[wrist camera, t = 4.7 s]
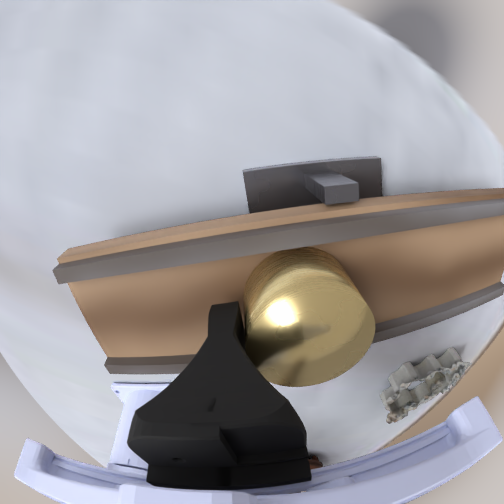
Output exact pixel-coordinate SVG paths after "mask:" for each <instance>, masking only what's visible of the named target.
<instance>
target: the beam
mask: <svg viewBox="0 0 504 504" xmlns="http://www.w3.org/2000/svg"><path fill="white" fill-rule="evenodd" d="M300 247H314V248H318V249H321V250H323V251H325V252H327V253H329V254H331V255H332V256H333V257H335V258H336V259H337V260H338V262H339V263H340V264H341V266H342V267H343V269H344V270H345V272H346V273H347V274H348V276H349V277H350V279H351V280H352V282H353V283H354V285H355V286H356V288H357V289H358V291H359V293H360V294H361V296H362V297H363V299H364V300H365V302H366V303H367V305H368V306H369V308H370V310H371V311H372V313H373V316H374V319H375V335H374V338H373V341H372V343H376V342H379V341H383V340H386V339H390V338H393V337H396V336H400V335H403V334H406V333H409V332H412V331H415V330H418V329H421V328H424V327H427V326H430V325H432V324H435V323H438V322H441V321H443V320H446V319H449V318H451V317H454V316H456V315H459V314H461V313H464V312H466V311H468V310H471V309H473V308H475V307H478V306H480V305H482V304H484V303H487V302H489V301H491V300H493V299H495V298H497V297H499V296H501V295H503V292H504V284H503V283H502V282H500V281H501V277H502V274H503V271H504V188H492V189H472V190H455V191H441V192H428V193H416V194H404V195H394V196H383V197H374V198H364V199H359V201H353V202H345V203H337V204H329V205H325V204H324V203H322V204H314V205H307V206H299V207H292V208H285V209H278V210H271V211H264V212H258V213H251V214H245V215H238V216H232V217H226V218H220V219H214V220H208V221H203V222H197V223H191V224H186V225H180V226H175V227H169V228H164V229H159V230H154V231H149V232H144V233H139V234H134V235H129V236H124V237H119V238H114V239H110V240H105V241H101V242H96V243H91V244H87V245H83V246H78V247H74V248H70V249H67V250H66V251H65V252H64V253H63V254H62V255H61V256H60V257H58V258H57V260H58V262H59V265H58V266H56V267H55V268H54V269H53V273H54V275H55V277H56V279H57V282H58V284H63V283H68V285H69V287H70V289H71V292H72V294H73V296H74V298H75V300H76V302H77V304H78V306H79V308H80V310H81V312H82V314H83V316H84V317H85V319H86V321H87V323H88V325H89V327H90V328H91V330H92V332H93V334H94V336H95V337H96V339H97V341H98V342H99V344H100V346H101V347H102V349H103V351H104V352H105V354H106V355H107V357H108V358H107V360H106V362H105V364H104V366H105V367H106V369H107V370H108V371H109V373H110V374H178V373H181V372H182V371H183V370H184V369H185V368H186V366H187V365H188V364H189V363H190V362H191V360H192V359H193V358H194V356H195V355H196V354H197V352H198V351H199V349H200V348H201V346H202V344H203V343H204V341H205V340H206V338H207V336H208V314H209V311H210V308H211V305H215V304H222V303H228V302H235V301H238V302H239V306H240V311H241V315H242V320H243V324H244V299H243V295H244V288H245V284H246V281H247V279H248V277H249V275H250V274H251V272H252V271H253V269H254V268H255V267H256V266H257V265H258V264H259V263H260V262H261V261H262V260H264V259H265V258H266V257H268V256H270V255H271V254H273V253H275V252H278V251H281V250H287V249H294V248H300ZM244 329H245V325H244ZM372 343H371V344H372Z"/></svg>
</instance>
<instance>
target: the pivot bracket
mask: <svg viewBox="0 0 504 504" xmlns="http://www.w3.org/2000/svg"><path fill="white" fill-rule="evenodd" d="M243 176H244V182H245V188H246V195H247V201H248V207H249V213H250V214H251V213H258V212H264V211H271V210H278V209H285V208H292V207H299V206H307V205H314V204H322V203H324V204H325V205H329V204H337V203H345V202H353V201H359V199H364V198H374V197H382V179H381V158H378V157H356V158H341V159H329V160H318V161H308V162H298V163H290V164H282V165H274V166H266V167H259V168H253V169H246V170H243Z"/></svg>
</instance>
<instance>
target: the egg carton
mask: <svg viewBox="0 0 504 504" xmlns="http://www.w3.org/2000/svg"><path fill="white" fill-rule="evenodd" d="M471 364H472V363H469V362H463V361H462V360H461V357H460V356H459V355H458V353H457V352H456V350H455V349H454V348H453V347H451V348H449V349H447V351H446V352H445V353H444V354H443V355H442V356H441V357H439V358H437V359H436V358H435V356H434V355H433V354H432V355H429V356H427V357H426V358H425V359H424V360H423V361H422V362H421V363H420V364H418V365H416V366H412V364H411V362H406V363H404V364H402V365H401V367H400V368H399V369H398V370H396V371H395V372H393V373H391V374H390V376H389V378H388V380H389V382H390V384H391V387H389V388H388V389H386V390H384V391H382V392H381V394H380V397H381V400H382V402H383V404H384V406H385V408H386V410H389V411H390V413H388V415H387V420H386V421H387V423H389V424H390V423H392V422H397V421H398V420H400V419H403V418H404V417H405V416H407V415H408V411H410V410H414V409H416V408H417V406H419V405H420V404H422V403H426V402H428V401H429V400H431V399H432V398H434V397H435V396H437V395H438V394H439V392H441V393H442V394H443V393H445V392H447V391H449V390H450V389H449V387H450V385H451V384H452V386H455V385H456V381H457V380H459V379H460V377H461V375H463V374H465V370H466V369H467V367H468V366H470V365H471ZM418 380H419V381H424V380H425V381H426V382H423V383H421V384H419V385H418V386H417V387H416V388H415V389H413V390H411V391H408V389H407V388H408V387H409V386H410V384H411V383H412V382H414V381H418Z"/></svg>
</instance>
